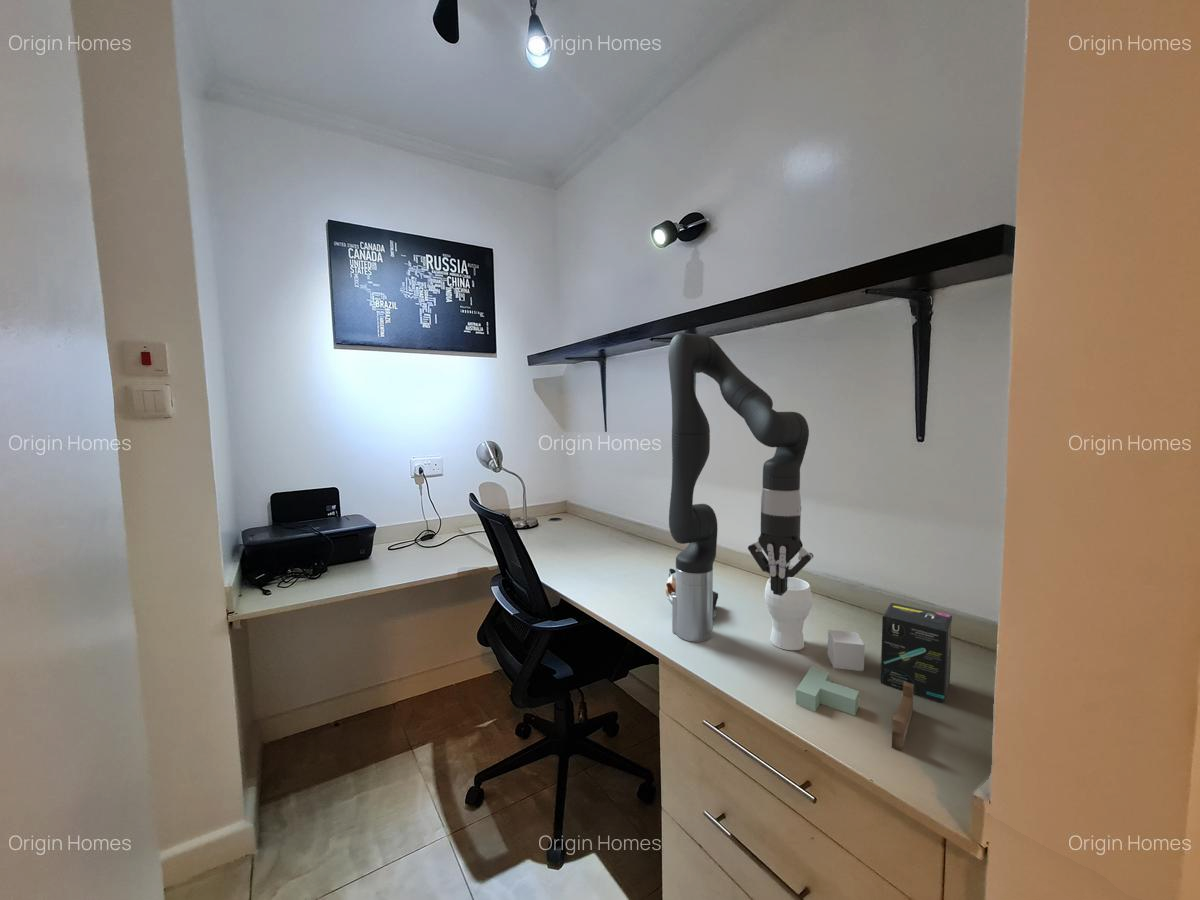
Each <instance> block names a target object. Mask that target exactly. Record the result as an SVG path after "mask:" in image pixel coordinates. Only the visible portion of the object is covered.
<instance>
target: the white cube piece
mask: <svg viewBox="0 0 1200 900" xmlns="http://www.w3.org/2000/svg"><path fill="white" fill-rule="evenodd" d="M827 656H828V659H829V661H830V662H831V666H832V667H833V668H834V669H840V670H841V669H843V670H850V671H851V670H852V671H858V672H864V670H865V643H864V642H863V640H862V639H861V637H860V635H859V634H858V632H855V631H844V630H837V629H828V630H827Z"/></svg>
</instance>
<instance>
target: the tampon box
mask: <svg viewBox="0 0 1200 900" xmlns="http://www.w3.org/2000/svg"><path fill="white" fill-rule="evenodd" d="M881 618H882V623H881V626H882V627H881V629H882V630H881V633H882V634H881V652H880V653H881V655H880V683H881V684H882V685H885V686H887V687H888V686H889V687H892V688H895V689H898V690H901V691H903V684H904V681H905V682H908V683H911V684H914V690H913V695H916V696H920V697H923V698H927V699H929V700H932V701H936V702H939V703H944V702H945V699H946V696H947V693H948V689H949V685H950V682H951V665H952V664H951V659H952V658H951V657H952V639H951V638H952V619H953V615H951V614H950V615H949V614H946V613H941V612H936V611H931V610H926V609H923V608H917V607H912V606H908V605H903V604H899V603H896V602H895V603H894V602H890V603H889V605H888V607H887V608H886V610H885V612H884V613H883V615H882V617H881Z"/></svg>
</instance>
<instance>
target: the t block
mask: <svg viewBox="0 0 1200 900" xmlns="http://www.w3.org/2000/svg"><path fill="white" fill-rule="evenodd" d="M796 704H797V705H796ZM820 704H822V705H824V706H826V707H829V708H832V709H835V710H837V711H840V712H843V713H845V714H849V715H852V716H856V714H857V712H858V710H859V707H860V690H856V689H853V688H850V687H847V686H844V685H841V684H838V683H834V682H832V681H830V673H829V672H827V671H823V670H821V669H818V668H814V667H810V668H809V670H808V671H807V672H806V675H804V678H803V679H802V681H801V682H800V683H799V684H798V686H797V687H796V688H795V705H796V706H798V707H802V708H805V709H807V710H810V711H812V712H816V711H817V710H818V708H819V706H820Z"/></svg>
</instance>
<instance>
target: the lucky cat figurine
mask: <svg viewBox="0 0 1200 900" xmlns="http://www.w3.org/2000/svg"><path fill="white" fill-rule="evenodd" d="M665 594H666V598H667V600H668V601H669V602H670V604H671V605H672V597H673V596H674V595H675V594H676V569H673V568H669V573H668V578H667V580H666V582H665ZM718 598H719V593H718V592H717V591H714V590H713V618H712V620H714V619H715V618H716V615H717V614H718V610H717V602H718Z"/></svg>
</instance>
